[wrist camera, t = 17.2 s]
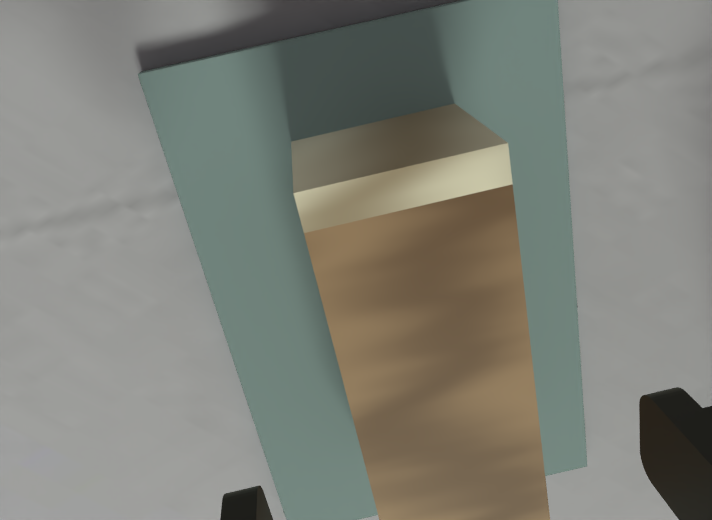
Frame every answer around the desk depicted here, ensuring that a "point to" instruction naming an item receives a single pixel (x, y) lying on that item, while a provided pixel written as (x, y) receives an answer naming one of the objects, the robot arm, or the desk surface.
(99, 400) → the desk surface
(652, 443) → the robot arm
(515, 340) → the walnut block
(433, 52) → the slate mat
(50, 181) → the desk surface
